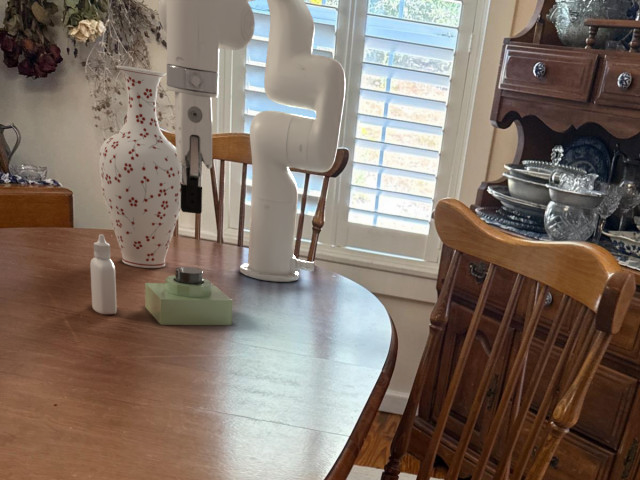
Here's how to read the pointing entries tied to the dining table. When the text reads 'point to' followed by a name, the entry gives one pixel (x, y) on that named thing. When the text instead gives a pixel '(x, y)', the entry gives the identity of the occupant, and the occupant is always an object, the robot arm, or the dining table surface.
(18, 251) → the dining table surface
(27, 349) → the dining table surface
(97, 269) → the eye dropper bottle
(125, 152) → the vase
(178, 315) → the button base
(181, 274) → the dark grey button cap
